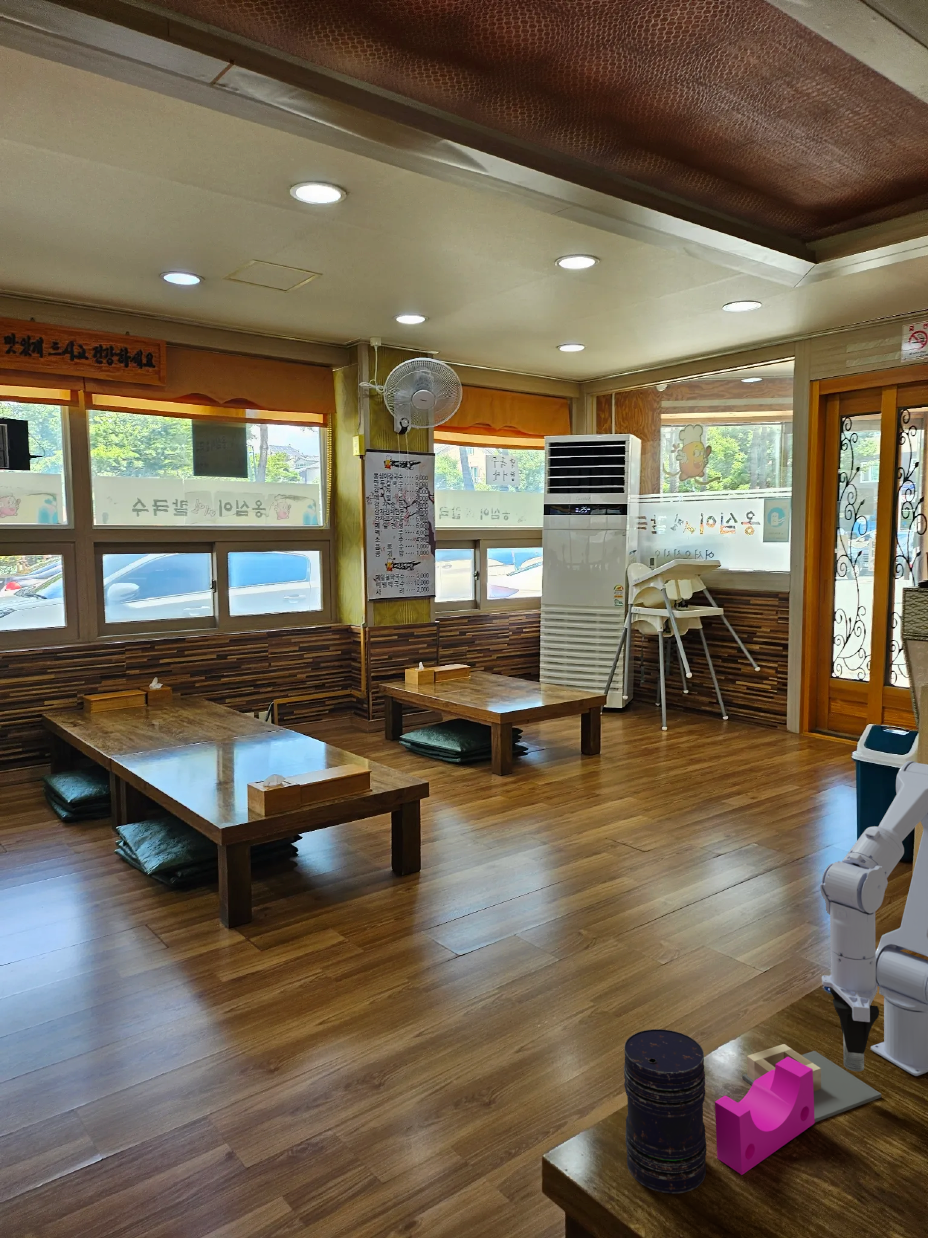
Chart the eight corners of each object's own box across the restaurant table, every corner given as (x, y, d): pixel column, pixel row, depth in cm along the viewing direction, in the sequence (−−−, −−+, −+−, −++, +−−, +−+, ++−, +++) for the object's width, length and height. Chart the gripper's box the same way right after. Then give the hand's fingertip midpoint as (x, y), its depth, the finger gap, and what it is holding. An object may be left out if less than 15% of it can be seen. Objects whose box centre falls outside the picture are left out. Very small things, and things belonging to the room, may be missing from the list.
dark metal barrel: (650, 1129, 114) (647, 1020, 113) (720, 1161, 108) (718, 1045, 107) (611, 1170, 107) (608, 1054, 106) (684, 1207, 100) (681, 1083, 99)
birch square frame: (784, 1063, 127) (784, 1044, 127) (821, 1089, 121) (820, 1068, 121) (747, 1076, 125) (747, 1056, 124) (783, 1102, 118) (782, 1081, 118)
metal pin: (853, 1059, 122) (852, 1004, 121) (868, 1068, 119) (867, 1012, 119) (839, 1063, 120) (838, 1008, 120) (854, 1073, 118) (854, 1017, 118)
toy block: (773, 1100, 119) (771, 1048, 118) (814, 1123, 114) (812, 1069, 113) (701, 1148, 110) (698, 1092, 110) (741, 1175, 105) (739, 1117, 105)
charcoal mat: (814, 1054, 130) (814, 1050, 130) (881, 1097, 119) (881, 1094, 119) (742, 1078, 125) (742, 1075, 125) (805, 1126, 114) (805, 1122, 114)
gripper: (816, 926, 127) (817, 1015, 128) (828, 971, 113) (829, 1071, 114) (868, 930, 125) (868, 1021, 126) (886, 977, 111) (887, 1078, 112)
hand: (853, 1045), depth 120 cm, fingers closed on metal pin, 3 cm apart
